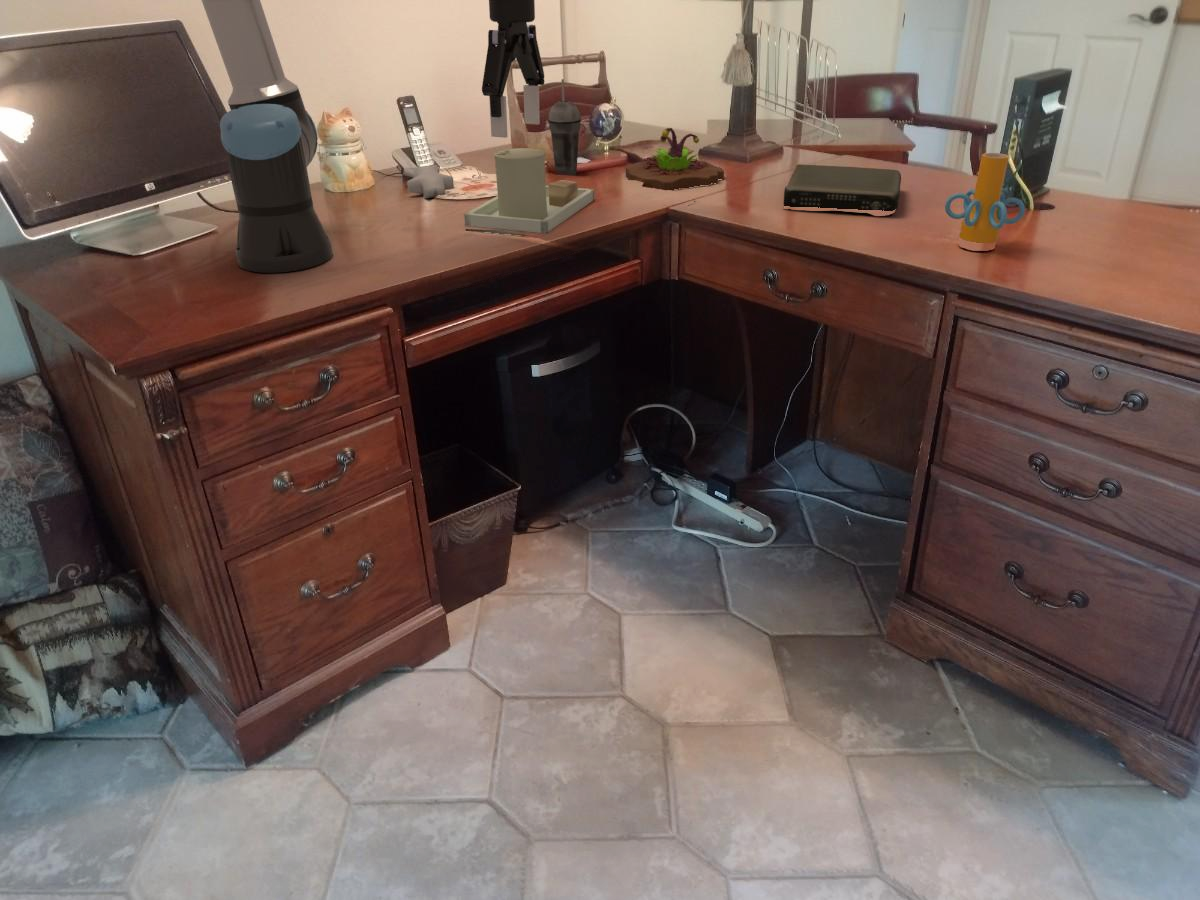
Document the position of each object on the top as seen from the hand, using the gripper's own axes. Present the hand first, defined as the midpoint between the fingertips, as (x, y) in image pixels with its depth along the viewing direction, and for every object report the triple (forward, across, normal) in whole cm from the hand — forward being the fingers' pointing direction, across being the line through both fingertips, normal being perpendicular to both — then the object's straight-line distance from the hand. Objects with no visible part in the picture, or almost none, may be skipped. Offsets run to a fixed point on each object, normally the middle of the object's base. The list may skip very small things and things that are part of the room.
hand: (516, 130), depth 155 cm
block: (+15, +11, -4) cm, 20 cm away
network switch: (+16, +34, -55) cm, 66 cm away
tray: (+16, +4, -1) cm, 17 cm away
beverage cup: (+16, +38, +6) cm, 42 cm away
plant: (+16, +42, -17) cm, 48 cm away
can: (+16, 0, -1) cm, 16 cm away
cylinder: (+15, +10, -80) cm, 82 cm away
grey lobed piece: (+17, +16, +28) cm, 37 cm away
